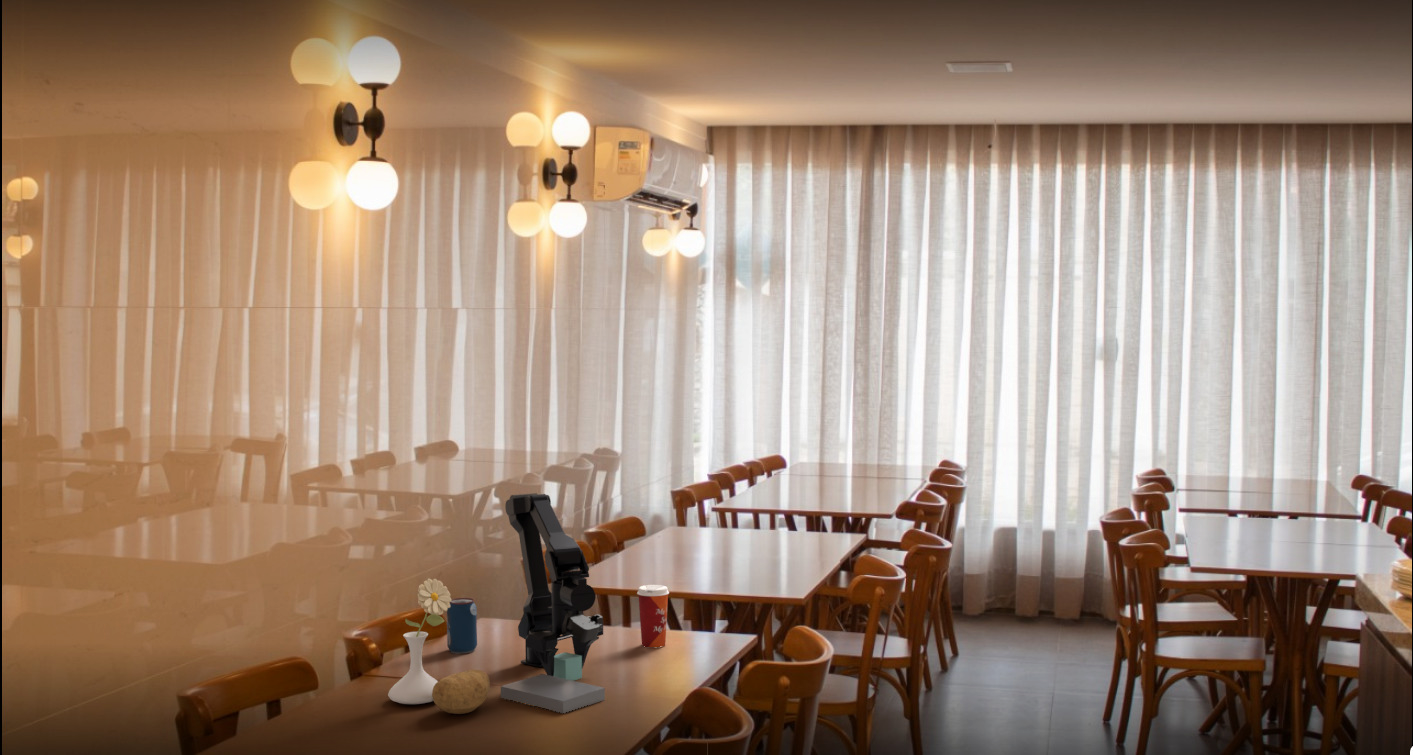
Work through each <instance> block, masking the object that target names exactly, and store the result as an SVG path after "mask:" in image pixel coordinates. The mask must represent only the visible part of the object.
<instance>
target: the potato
mask: <svg viewBox="0 0 1413 755" xmlns="http://www.w3.org/2000/svg"><path fill="white" fill-rule="evenodd" d="M437 681H438V682H437V683H436V684H435V686H434V687H433V691H432V697H433V700H434V701H433V703H434V704H435V705H436V706H437V707H438V708H439V710H441V711H443V712H445V713H448V714H454V715H456V714H457V715H462V714H469V713H472V712H474V711H475V710H476V709H477V708H478V707H479V706H481V705H482V704H483V703H484V702H485V700H486V698H487V695H488V692H489V690H490V685H491V682H490V677H489V676H488V673H486V672H485V671H483V670H481V669H473V668H472V669H469V670H465V671H459V672H456V673H452V674H450V675H447V676H445V677H442V678H440V680H437Z"/></svg>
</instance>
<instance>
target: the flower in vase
mask: <svg viewBox="0 0 1413 755" xmlns="http://www.w3.org/2000/svg"><path fill="white" fill-rule="evenodd" d="M417 592H418V593H417V600H418V601H417V603H418V605H420V607H421V608H422V609H423V610H424V612H425V615H424V618H423V620H422V622H421V624H420V623H418V622H415V621H414V622H413V621H412V620H409V619H407V618H405V624H407V625H408V626H410V627H416V628H418V630H417V631H410V632H409V631H408V632H406V633H404V634H403V635H402V636H403V638H404V639H405V640H406V642H407V645H408V648H409V653H410V656H409V657H410V665H409V670H408V671H407V673H405V675H404V676H403V677H401V678H400V679H399V680H398V681H397V682H396V683H395V684H394V685H392V687H391V688H390V689H389V691H388V694H387V696H388V698H389V699H390V700H391V701H393V702H396V703H399V704H402V705H420V704H426V703H432V702H434V700H433V697H432V691H433V687H434V686H435V684H436V683H437V682H438V681H439V680H437V679H436V678H434V677H433V676H431V675H430V674H429V673H427V671H425V670H424V667H423V659H422V656H423V648H424V647H423V646H424V643H425V641H426V638H427V637H428V635H429V633H428V632H427V631H421V630H422V627H423V625H424V623H425V622H427V624H429V625H430V626H432V627H436V626H440V625H442V624H443V623H444V622H445V619H444V618H443V617H442V616H441V615H443V614H444V612H447V609H448V608H450V603H449V602H451V600H452V598H451V593H450V591H449V590H448V587H447V586H444V583H443V581H441V580H437V578H433V579H431V578H427V580H424V581H423V584H422V583H421V584H420V585H419V586H418V588H417ZM428 614H429V615H428Z"/></svg>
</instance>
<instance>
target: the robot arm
mask: <svg viewBox="0 0 1413 755" xmlns="http://www.w3.org/2000/svg"><path fill="white" fill-rule="evenodd" d="M551 504H552V503H551V498H550V495H549V494H546V493H541V494H539V493H523V494H522V493H521V494H511V495H510V496H509V499H507V500H506V501H505V504H504V506H505V513H506V514H507V516H508V520H509V525H511V527H512V528H513V529H514V530H515V531H516V532H517V534H518V537H519V543H520V550H521V551H520V552H521V555H522V564H523V569H524V575H525V582H526V587H527V597H526V600H525V603H524V605H523V609H522V610H523V614H522V617H521V619H520V621H519V624H518V626H517V631H518V636H519V637H520V638H522V639H523V640H525V641H524V642H525V643H524V644H525V659H522V660H520V664H524V665H528V666H532V667H537V668H542V667H543V669H544V671H545V674H546V675H550V676H554V655H557V652H558V651H559V648H558V647H557V645H558V642H559V641H562V640H566V639H569V638H571V639H572V647H573V654H576V655H581V656H582V670H583V669H584V666H585V662H586V659H587V656H588V653H589V650H590V648H591V646H592V644H593V643H594V642H596V641H598V640H599V638H600V636H604V618H603V616H602V615H600V614H594V615H592V616H589V615H588V616H586V615H584V612H585V611H588V610H590V609H591V608H592V607H593V606H594V604H595V602H596V597H597V596H596V592H595V590H594V588H593V587H592V586H591V585H589V584H588V581H587V580H588V579H587V578H589V577H590V573H589V571H590V568H589V565H588V562H587V559H586V556H585V555H584V552H583V549H581V547H580V545H579V544H578V543H577V541H576V540H575V539H574V538H573V537H571V536H569V535H567V534H566V532H565V531H564V529H563V527H562V525H561V523H560V520H559V519H558V517H557V514H556V512H555V510H554V508H553V506H552V505H551ZM541 538H542V539H541ZM542 541H543V543H544V546H545V547H546V549H545V554H544V552H543V551H544V550H543V546H542ZM546 568H547V569H548V572H549V576H548V575H547V570H546ZM548 577H549V579H550V581H551V584H550V586H551V588H549V584H548ZM550 590H551V591H550ZM556 647H557V648H556Z"/></svg>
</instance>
